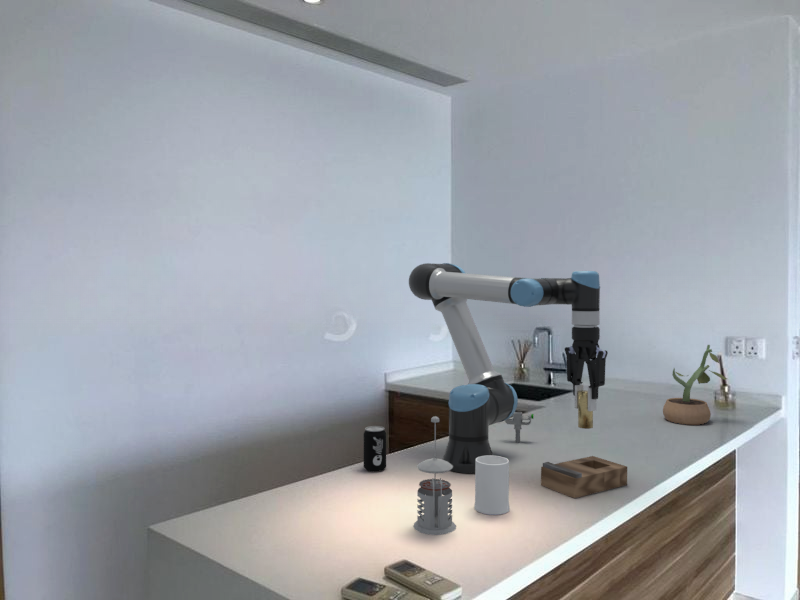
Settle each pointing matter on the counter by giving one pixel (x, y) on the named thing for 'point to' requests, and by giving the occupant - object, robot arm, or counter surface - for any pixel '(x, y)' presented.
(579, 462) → the jig
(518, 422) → the mechanical component
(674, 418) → the potted plant
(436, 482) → the french press
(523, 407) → the counter surface
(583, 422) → the brass cylinder
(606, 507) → the counter surface
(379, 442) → the beverage can
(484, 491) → the mug
